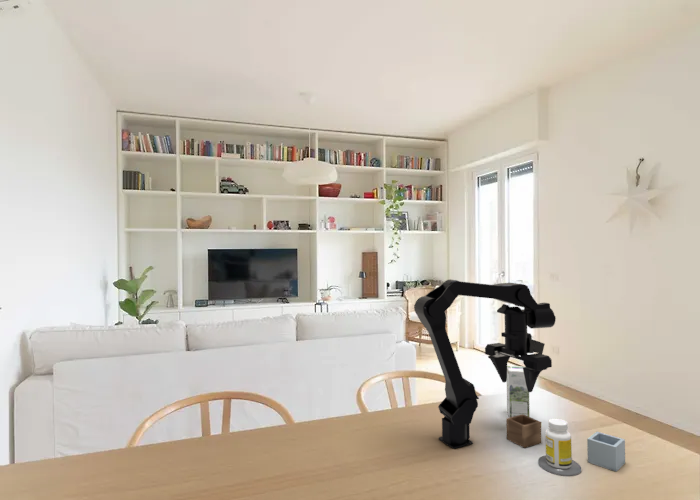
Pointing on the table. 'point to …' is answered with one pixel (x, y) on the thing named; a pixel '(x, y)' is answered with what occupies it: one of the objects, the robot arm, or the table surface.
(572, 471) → the coaster
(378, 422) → the table surface
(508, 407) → the syrup box
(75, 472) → the table surface
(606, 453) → the slate cup
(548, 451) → the supplement bottle
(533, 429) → the walnut box
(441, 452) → the table surface
